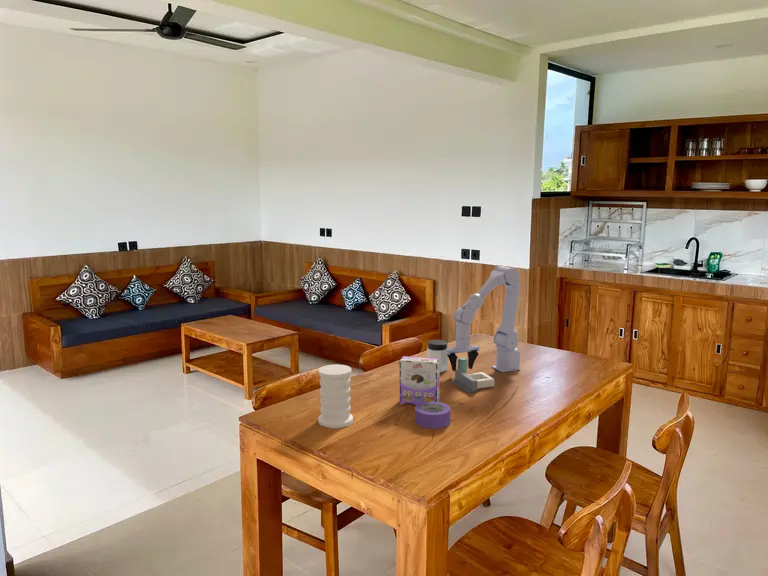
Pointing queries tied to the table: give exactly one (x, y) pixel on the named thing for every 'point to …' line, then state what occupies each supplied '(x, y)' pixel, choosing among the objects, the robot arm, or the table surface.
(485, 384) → the block
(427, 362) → the candy box
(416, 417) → the tape roll
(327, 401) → the decorative container
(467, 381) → the wall
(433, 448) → the table surface
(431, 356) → the jar
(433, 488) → the table surface
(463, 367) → the dowel
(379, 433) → the table surface
